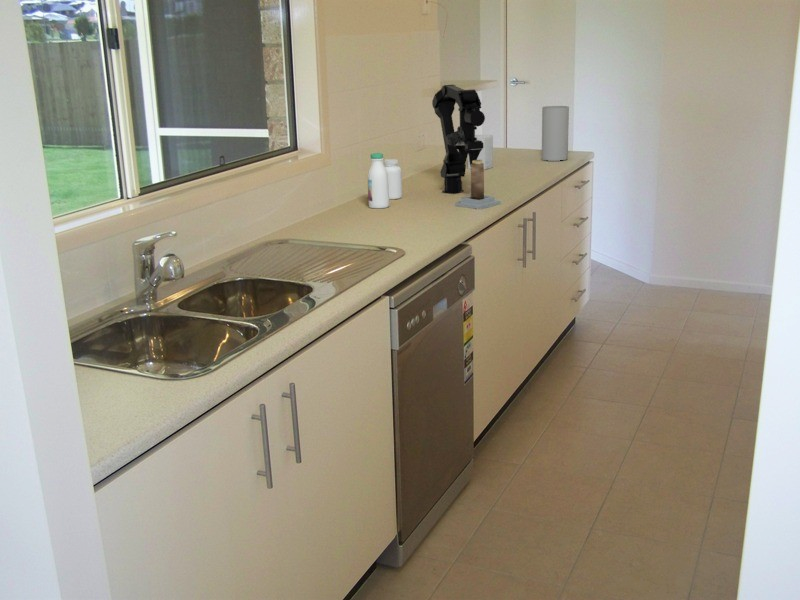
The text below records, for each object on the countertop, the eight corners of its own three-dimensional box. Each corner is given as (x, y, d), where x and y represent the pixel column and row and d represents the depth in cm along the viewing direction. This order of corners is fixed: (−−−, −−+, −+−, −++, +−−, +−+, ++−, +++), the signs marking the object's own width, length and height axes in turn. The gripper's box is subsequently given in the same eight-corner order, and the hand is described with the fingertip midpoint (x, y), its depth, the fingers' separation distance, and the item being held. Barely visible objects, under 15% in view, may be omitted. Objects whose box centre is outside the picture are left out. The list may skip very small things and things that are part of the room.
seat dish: (455, 205, 324) (455, 198, 323) (474, 200, 332) (474, 193, 331) (480, 209, 316) (480, 201, 315) (500, 203, 325) (500, 196, 324)
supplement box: (493, 167, 407) (493, 134, 402) (485, 170, 400) (484, 137, 395) (476, 166, 411) (476, 134, 407) (467, 169, 404) (467, 136, 400)
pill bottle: (405, 196, 345) (404, 158, 341) (397, 200, 338) (395, 161, 334) (387, 195, 348) (386, 158, 344) (378, 199, 342) (377, 161, 337)
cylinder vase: (538, 158, 427) (539, 106, 419) (563, 157, 428) (564, 105, 421) (545, 162, 415) (546, 108, 408) (570, 160, 416) (572, 107, 409)
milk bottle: (392, 205, 329) (390, 152, 323) (385, 209, 322) (382, 155, 316) (373, 204, 332) (370, 152, 326) (365, 208, 325) (363, 155, 319)
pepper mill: (470, 202, 322) (469, 161, 318) (472, 200, 327) (472, 159, 322) (482, 203, 321) (482, 162, 316) (485, 200, 325) (484, 159, 321)
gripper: (439, 123, 334) (440, 163, 338) (455, 127, 316) (455, 170, 321) (466, 121, 336) (467, 161, 341) (483, 125, 319) (484, 168, 324)
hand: (467, 165), depth 332 cm, fingers open, 9 cm apart
